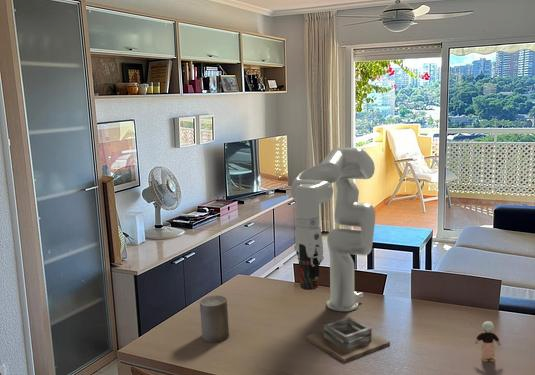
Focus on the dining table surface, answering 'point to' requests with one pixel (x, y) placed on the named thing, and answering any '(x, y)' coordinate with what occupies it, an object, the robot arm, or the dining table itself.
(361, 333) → the collar stand
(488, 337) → the grandmother figurine
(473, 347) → the dining table surface
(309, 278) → the deodorant
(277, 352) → the dining table surface
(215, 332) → the pillar candle
